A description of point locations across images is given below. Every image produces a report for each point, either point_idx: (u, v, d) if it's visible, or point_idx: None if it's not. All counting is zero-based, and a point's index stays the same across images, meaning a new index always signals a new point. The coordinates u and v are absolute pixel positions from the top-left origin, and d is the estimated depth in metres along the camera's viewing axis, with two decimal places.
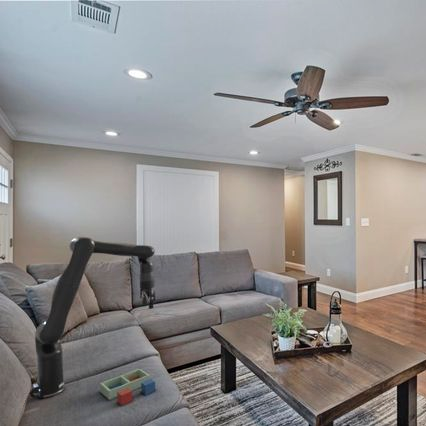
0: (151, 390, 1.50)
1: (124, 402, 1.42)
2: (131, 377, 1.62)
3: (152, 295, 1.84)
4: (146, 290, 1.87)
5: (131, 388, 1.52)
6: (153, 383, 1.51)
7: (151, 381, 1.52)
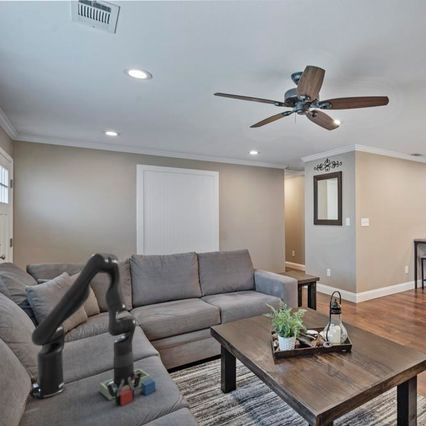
0: (151, 390, 1.50)
1: (124, 402, 1.42)
2: None
3: (108, 389, 1.39)
4: None
5: None
6: (153, 383, 1.51)
7: (151, 381, 1.52)
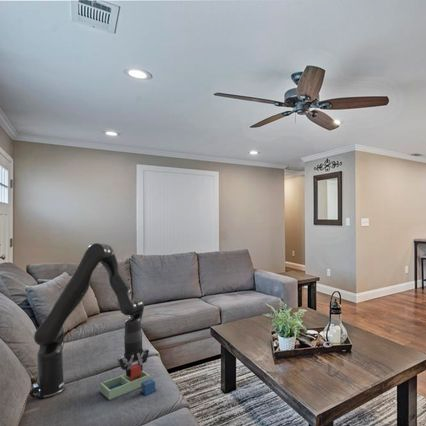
0: (151, 390, 1.50)
1: (134, 375, 1.57)
2: None
3: (120, 363, 1.54)
4: None
5: (131, 388, 1.52)
6: (153, 383, 1.51)
7: (151, 381, 1.52)
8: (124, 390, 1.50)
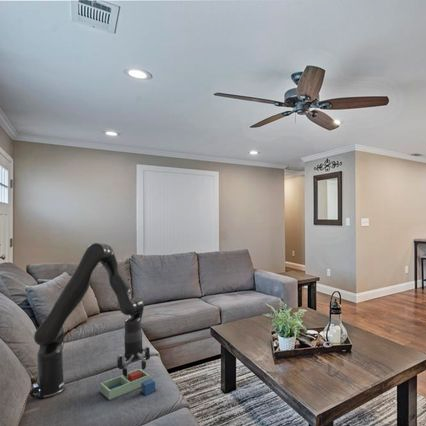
0: (151, 390, 1.50)
1: None
2: None
3: (118, 361, 1.54)
4: None
5: (131, 388, 1.52)
6: (153, 383, 1.51)
7: (151, 381, 1.52)
8: (124, 390, 1.50)
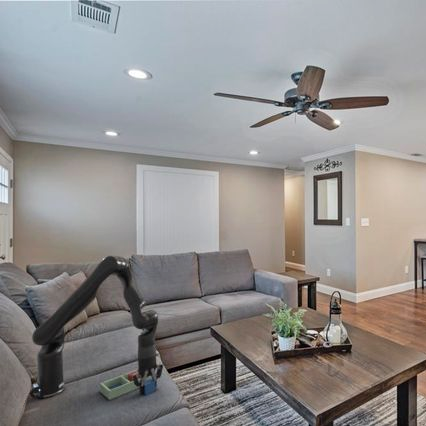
0: (151, 390, 1.50)
1: None
2: None
3: (133, 380, 1.47)
4: None
5: (131, 388, 1.52)
6: (153, 383, 1.51)
7: (151, 381, 1.52)
8: (124, 390, 1.50)
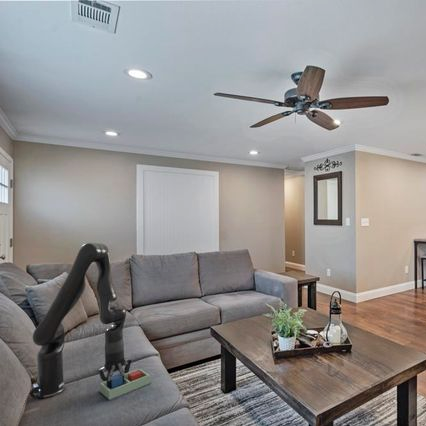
0: (118, 385, 1.51)
1: None
2: None
3: (100, 374, 1.48)
4: None
5: (131, 388, 1.52)
6: (120, 378, 1.52)
7: (118, 376, 1.53)
8: (124, 390, 1.50)
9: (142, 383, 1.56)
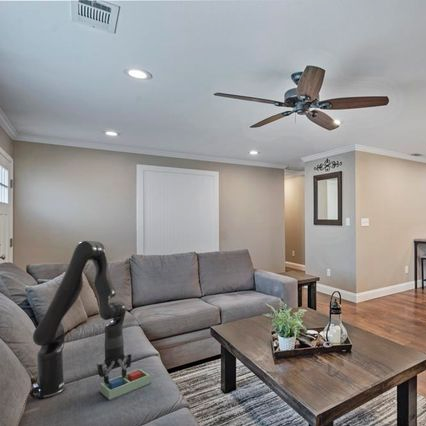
0: None
1: None
2: None
3: (98, 369, 1.47)
4: None
5: (131, 388, 1.52)
6: (120, 382, 1.52)
7: (118, 380, 1.53)
8: (124, 390, 1.50)
9: (142, 383, 1.56)
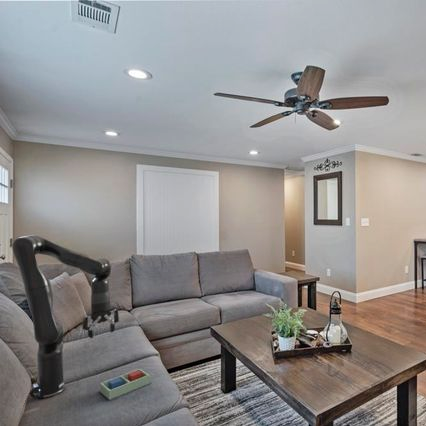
0: None
1: None
2: None
3: (83, 322, 1.49)
4: None
5: (131, 388, 1.52)
6: (120, 382, 1.52)
7: (118, 380, 1.53)
8: (124, 390, 1.50)
9: (142, 383, 1.56)
